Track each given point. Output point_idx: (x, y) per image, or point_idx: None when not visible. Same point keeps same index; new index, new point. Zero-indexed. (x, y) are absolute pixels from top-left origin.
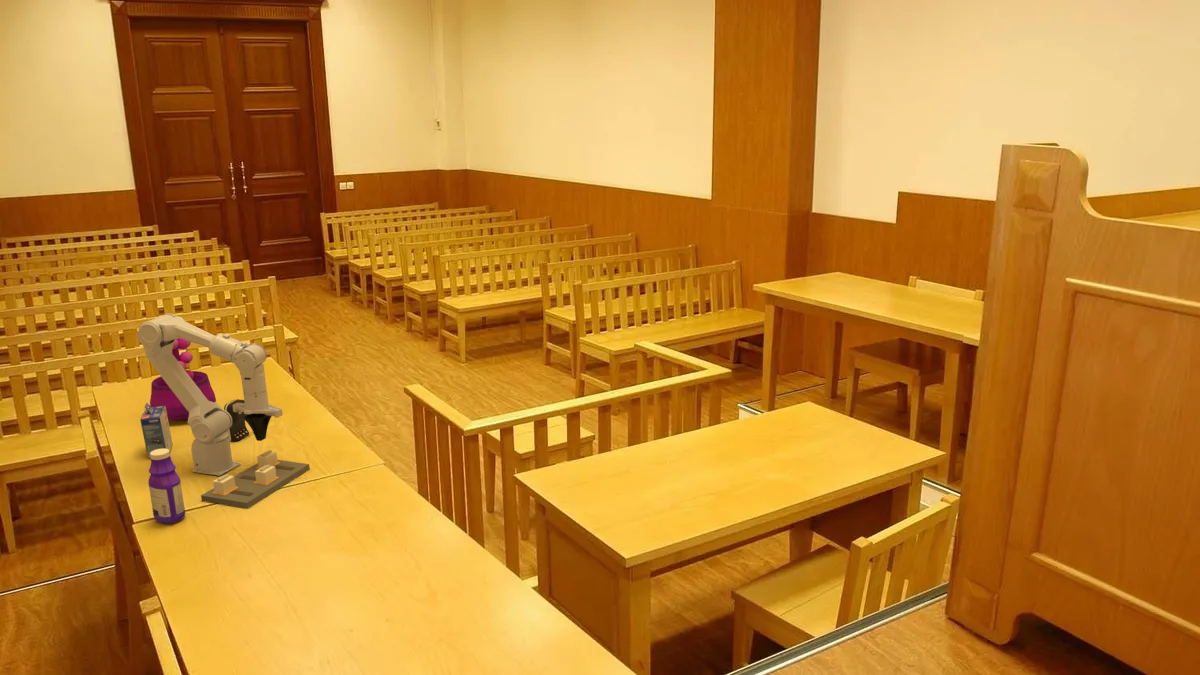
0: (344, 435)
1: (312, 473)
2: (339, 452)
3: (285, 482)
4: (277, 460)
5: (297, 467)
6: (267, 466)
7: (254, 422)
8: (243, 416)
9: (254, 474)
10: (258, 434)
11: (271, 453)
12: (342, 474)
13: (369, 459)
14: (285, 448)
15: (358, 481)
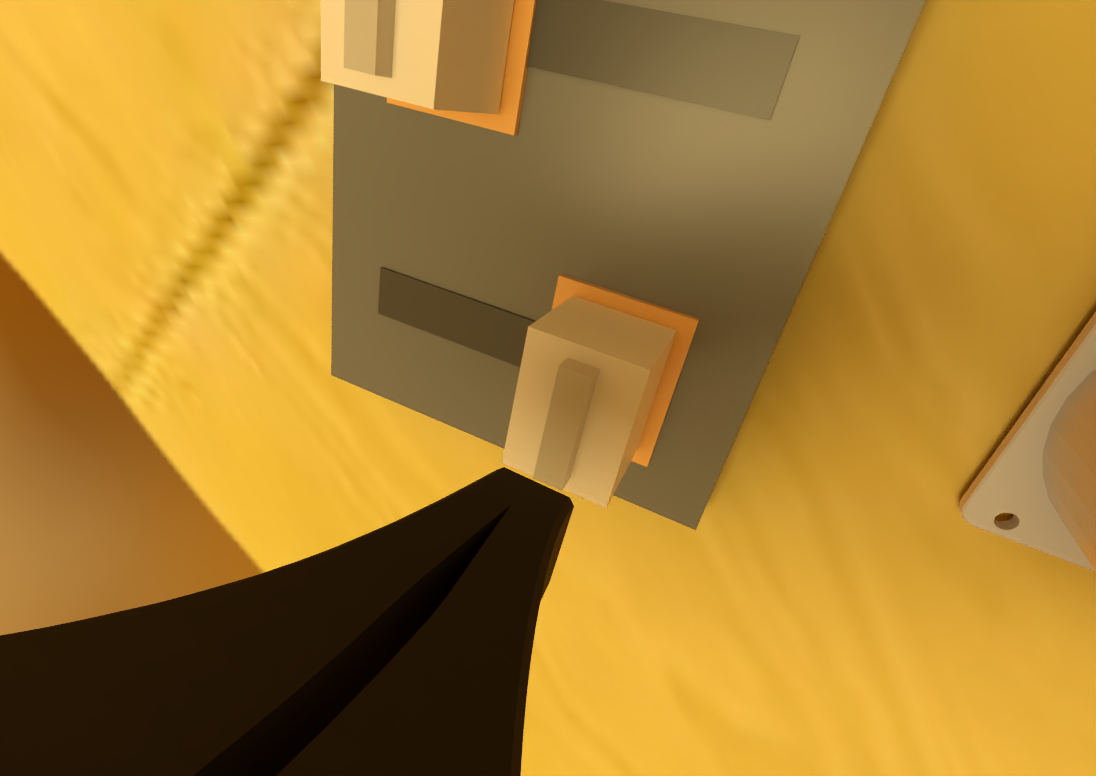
0: None
1: (311, 295)
2: None
3: None
4: None
5: (370, 321)
6: (345, 4)
7: (143, 741)
8: None
9: (652, 161)
10: (433, 514)
11: (530, 435)
12: (167, 278)
13: (175, 458)
14: (666, 710)
15: (53, 181)
